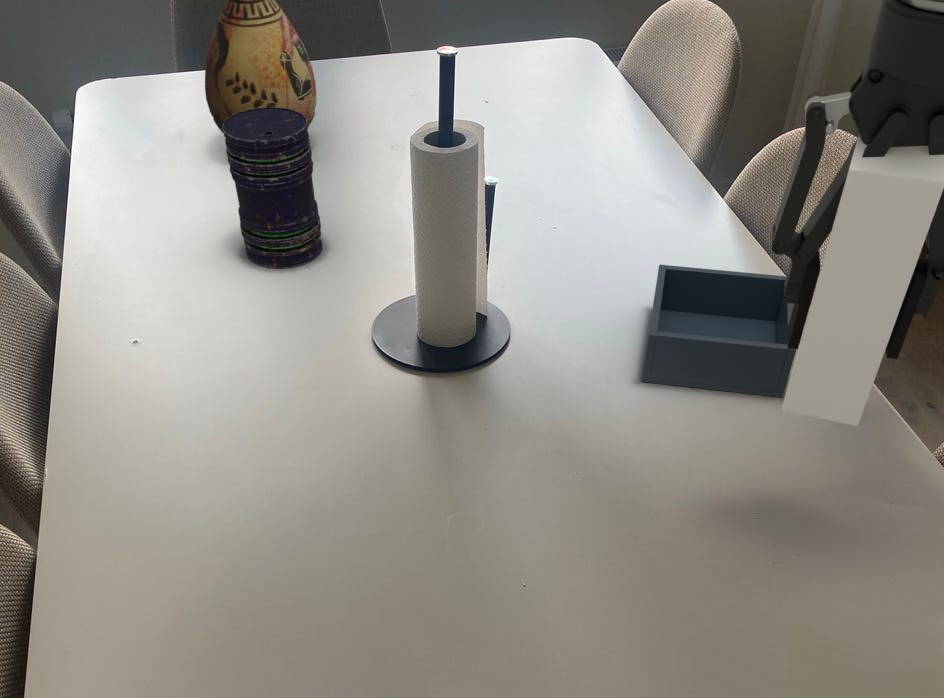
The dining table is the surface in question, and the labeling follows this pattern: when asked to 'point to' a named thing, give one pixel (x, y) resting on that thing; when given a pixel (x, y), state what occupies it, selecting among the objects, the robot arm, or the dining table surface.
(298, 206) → the dark blue cylinder
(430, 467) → the dining table surface
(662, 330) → the tote
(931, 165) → the tall white rectangular prism
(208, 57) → the ceramic jug
